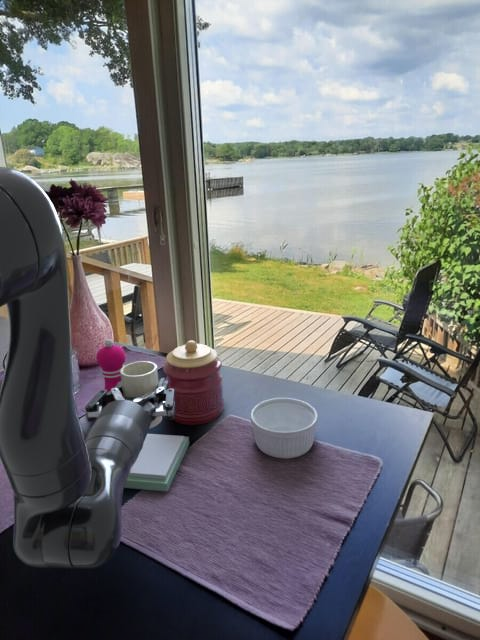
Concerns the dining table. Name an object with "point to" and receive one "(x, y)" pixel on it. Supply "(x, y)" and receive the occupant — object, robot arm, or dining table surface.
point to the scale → (157, 462)
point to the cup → (140, 381)
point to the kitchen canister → (195, 383)
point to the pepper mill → (111, 363)
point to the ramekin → (284, 427)
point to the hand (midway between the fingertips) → (144, 383)
